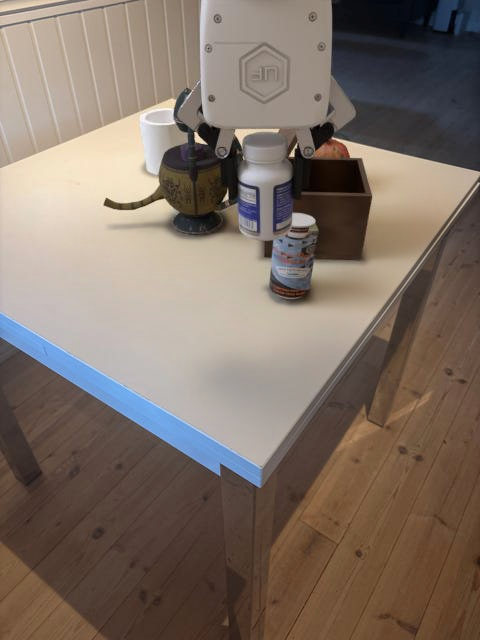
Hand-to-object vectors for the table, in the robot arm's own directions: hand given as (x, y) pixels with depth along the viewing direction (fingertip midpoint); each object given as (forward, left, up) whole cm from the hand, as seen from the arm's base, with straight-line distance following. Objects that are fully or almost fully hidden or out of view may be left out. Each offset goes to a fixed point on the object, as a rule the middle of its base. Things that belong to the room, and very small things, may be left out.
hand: (265, 191), depth 46 cm
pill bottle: (0, 0, -4) cm, 4 cm away
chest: (-7, -32, -24) cm, 41 cm away
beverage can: (-4, -16, -24) cm, 29 cm away
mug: (+23, -61, -24) cm, 69 cm away
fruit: (-10, -52, -24) cm, 58 cm away
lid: (-4, -32, -5) cm, 32 cm away
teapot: (+17, -35, -24) cm, 46 cm away
